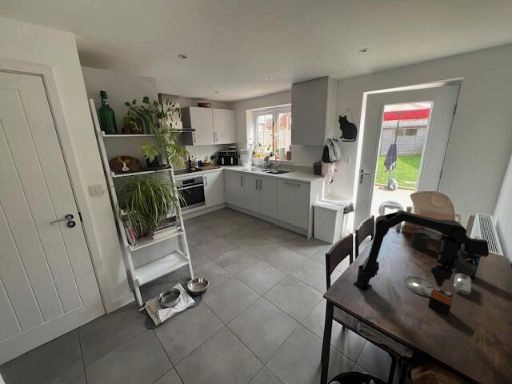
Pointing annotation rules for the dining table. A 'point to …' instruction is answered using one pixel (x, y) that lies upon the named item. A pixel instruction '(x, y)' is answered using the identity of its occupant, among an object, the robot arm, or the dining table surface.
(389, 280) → the dining table surface
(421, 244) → the pen holder
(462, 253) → the aerosol can
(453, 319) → the dining table surface
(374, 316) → the dining table surface
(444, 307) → the battery
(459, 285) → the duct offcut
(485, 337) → the dining table surface
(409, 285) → the flange plate
